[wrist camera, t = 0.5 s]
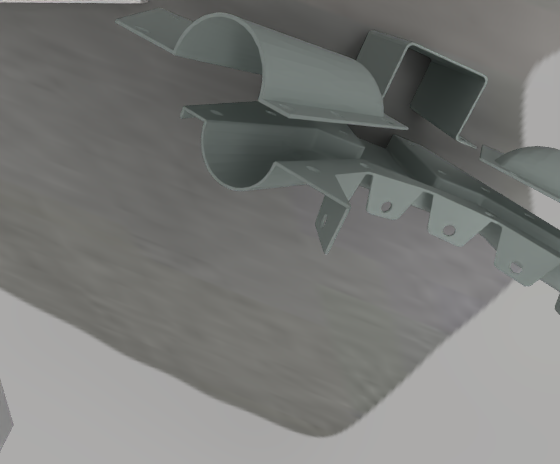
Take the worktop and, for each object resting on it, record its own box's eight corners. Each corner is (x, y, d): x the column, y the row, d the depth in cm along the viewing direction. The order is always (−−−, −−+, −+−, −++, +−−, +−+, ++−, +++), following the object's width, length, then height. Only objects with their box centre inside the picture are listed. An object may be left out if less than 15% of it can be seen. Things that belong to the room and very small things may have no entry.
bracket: (152, 67, 32) (43, 169, 14) (189, -55, 30) (113, -119, 12) (523, 214, 38) (777, 417, 20) (580, 124, 36) (930, 264, 18)
